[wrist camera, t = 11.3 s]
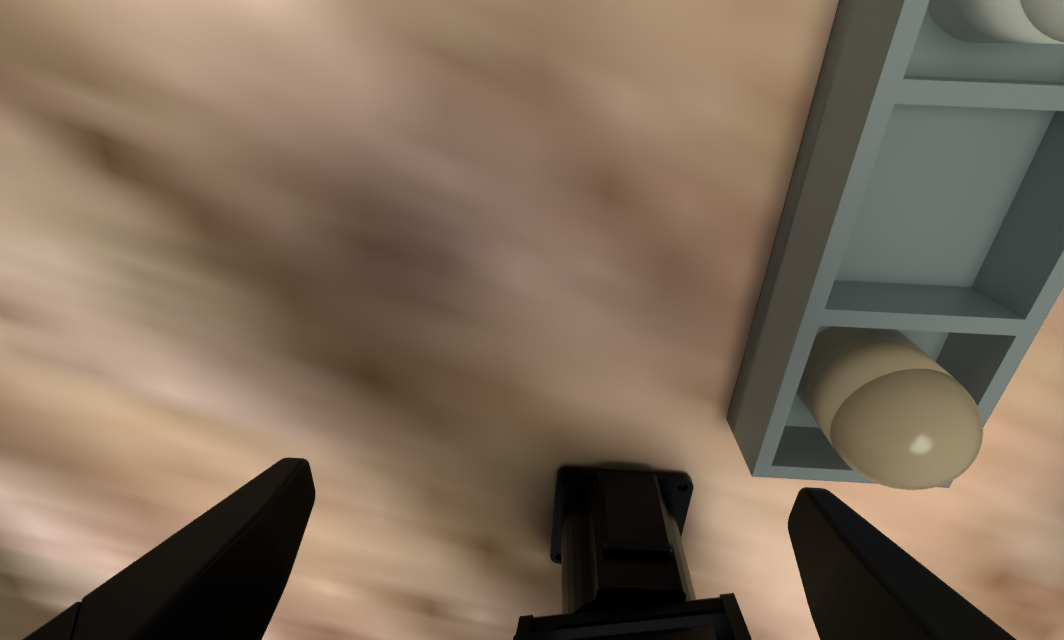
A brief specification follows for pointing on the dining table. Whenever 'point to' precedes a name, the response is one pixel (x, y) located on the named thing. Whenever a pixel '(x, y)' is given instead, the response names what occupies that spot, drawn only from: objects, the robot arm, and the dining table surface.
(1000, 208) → the grey long rectangular tray
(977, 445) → the brown egg
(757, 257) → the dining table surface
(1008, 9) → the cream egg
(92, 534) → the dining table surface
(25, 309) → the dining table surface
